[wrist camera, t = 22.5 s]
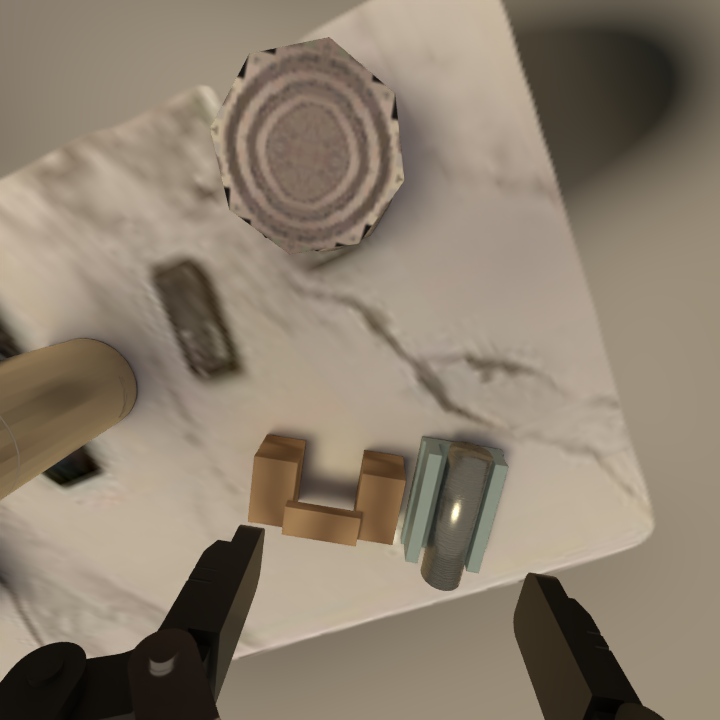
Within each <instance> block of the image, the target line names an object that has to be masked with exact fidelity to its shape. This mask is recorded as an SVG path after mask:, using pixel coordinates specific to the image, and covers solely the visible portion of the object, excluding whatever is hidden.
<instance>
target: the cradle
mask: <svg viewBox="0 0 720 720" xmlns="http://www.w3.org/2000/svg"><path fill="white" fill-rule="evenodd" d="M452 443H454V442H451V441H445V440H439V439H433V438H427V437H422V440H421V445H420V449H419V454H418V459H417V463H416V468H415V473H414V477H413V482H412V487H411V491H410V496H409V500H408V505H407V510H406V514H405V519H404V524H403V528H402V533H401V544H404V551H405V561H406V562H412V563H417V562H418V558H419V554H420V549H421V547H424V548H426V544H427V540H428V536H429V532H430V527H431V523H432V519H433V515H434V510H435V506H436V502H437V498H438V493H439V489H440V485H441V481H442V476H443V472H444V468H445V464H446V459H447V455H448V451H449V447H450V444H452ZM481 447H482V446H481ZM483 448H485V449H486V450H488V451H489V452H490V453H491V454H492V456H493V460H492V464H491V468H490V472H489V475H488V479H487V483H486V486H485V490H484V494H483V498H482V501H481V505H480V509H479V513H478V516H477V520H476V524H475V528H474V531H473V535H472V539H471V542H470V546H469V550H468V554H467V557H466V561H465V567H466V571H468V572H474V573H479V570H480V566H481V563H482V559H483V556H484V552H485V549H486V545H487V542H488V538H489V534H490V531H491V527H492V524H493V520H494V517H495V513H496V509H497V506H498V502H499V499H500V495H501V492H502V488H503V485H504V481H505V477H506V474H507V470H508V465H507V463H506V462H505V460H504V458H503V455H504V454H503V452H502V451H501V449H494V448H488V447H483Z"/></svg>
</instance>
